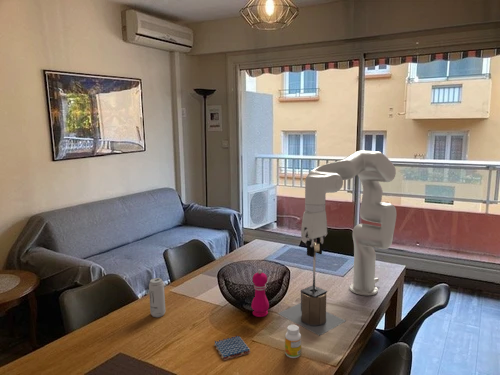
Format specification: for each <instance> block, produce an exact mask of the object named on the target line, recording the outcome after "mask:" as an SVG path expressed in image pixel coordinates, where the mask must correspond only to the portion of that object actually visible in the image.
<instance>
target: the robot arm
mask: <svg viewBox="0 0 500 375" xmlns="http://www.w3.org/2000/svg"><path fill="white" fill-rule="evenodd" d="M396 172H397V169H396V167H395V165H394V163H393V162H392V161H391V160H390V159H389V158H388V157H387V156H386V155H385V154H384V153H382V152H381V151H374V150H357V151H354V152H353V153H352V154H350V155H348V156H346V157H344V158H343V159H342V160H337V161H333V162H329V163H326V164H321V165H319V166H317V167H315V168H313V169H311V171H309V173H308V174H307V175H306V176H305V179H304V180H305V181H304V186H305V187H304V190H305V192H304V212H303V215H302V220H301V229H300V230H301V231H300V233H301V234H300V235H301V239H300V240H301V241H302V242H303V243H304V244H305V246H306V256H308V257H310V258H313V257H314V247H313V244H314V242H318V243H320V251H319V252H316V254H318V255H322V254H323V244H324V240H325V238H326V236H327V235H328V233H329V232H328V222H327V221H328V219H327V212H326V196H327V195H326V194H328V193H329V194H334V193H337V192H339V191H340V190H341V189H342V188H343V186H344V181H346V180H347V181H349V180H351V179H353V178H355V177H356V176H358V179H359V180H360V182H361V185H362V196H361V200H360V210H359V217H360V219H362V220H363V221H366V222H371V223H376V224H379V225H380V226H379V225H374V224H368V223H358V224H356V225H355V226H354V227H353V228H352V240H353V254H354V255H353V274H352V275H353V279H352V280H353V281H352V283H351V284H349V290H350V291H351V292H352V293H353V294H357V295H360V296H365V297H366V296H374V295H377V293H378V291H379V288H378V287H377V286H376V283H378V282H379V281H380V278H378V277H376V276H375V275H376V257H377V255H376V251H375V248H376V249H381V250H388V249H389V248H390V247H391V246H392V243H393V239H394V233H395V227H396V222H397V216H398V215H397V214H398V213H397V208H396V207H395V205H394V204H392V203H390V202H389V203H388V202H383V201H382V198H383V187H382V186H381V184H380V182H383V183H390V182H392V181H393V180H394V179H395V177H396V174H397V173H396Z"/></svg>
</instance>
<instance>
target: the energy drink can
mask: <svg viewBox="0 0 500 375" xmlns="http://www.w3.org/2000/svg"><path fill="white" fill-rule="evenodd" d="M148 294H149V310H150V315H151V316H152V317H153V318H161V317H163V316H165V313H166V297H165V294H166V293H165V283H164V281H163V279H162V278H160V277H155V278H152V279H150V281H149V284H148Z"/></svg>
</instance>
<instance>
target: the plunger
mask: <svg viewBox="0 0 500 375" xmlns="http://www.w3.org/2000/svg"><path fill="white" fill-rule="evenodd" d="M313 247H314V257H312V259H313V260H312V285H313V291H312V292H317V291H315V286H316V260H317V259H316V254H317V253H316V252H319V251H320V243H318V242H316V241H314V244H313ZM305 295H307V294H305ZM308 296H309V295H308ZM321 296H322V295H321ZM310 297H311V296H310ZM318 297H320V296H318Z"/></svg>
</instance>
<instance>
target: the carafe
mask: <svg viewBox="0 0 500 375" xmlns="http://www.w3.org/2000/svg"><path fill="white" fill-rule="evenodd" d="M312 291H313V284H312V285H310V286H308V287H305V288H302V289H301V290H300V303H301V311H302V316H301V321H302V322H303V323H304V324H306V325H309V326H321V325H324V324H325V323H326V312H327V293H328V291H327V290H325V289H323V288H320V287H318V286H316V285H315V291H317V292H312ZM305 294H307V295H305ZM308 295H309V296H308ZM321 295H322V296H321ZM310 296H311V297H310ZM318 296H320V297H318Z"/></svg>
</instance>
